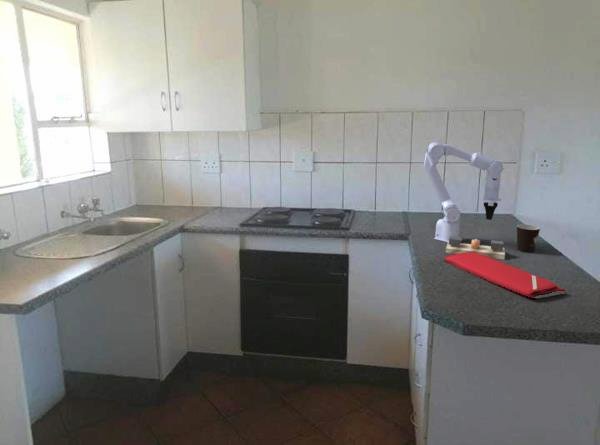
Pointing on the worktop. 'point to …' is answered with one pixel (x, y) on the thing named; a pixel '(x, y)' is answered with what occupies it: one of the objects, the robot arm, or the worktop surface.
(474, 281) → the worktop surface
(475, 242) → the orange knob
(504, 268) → the dish drying mat
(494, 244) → the button
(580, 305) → the worktop surface
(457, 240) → the button
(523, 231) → the coffee mug
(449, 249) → the mount board
